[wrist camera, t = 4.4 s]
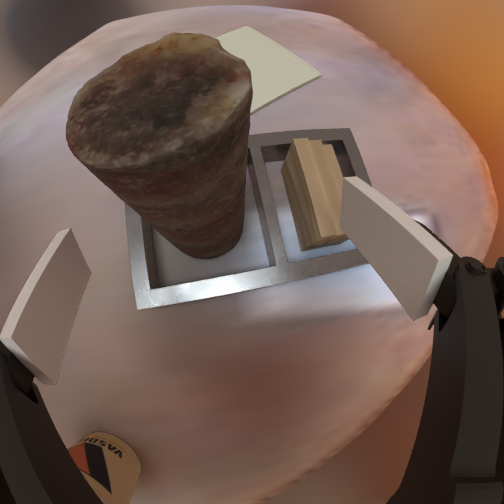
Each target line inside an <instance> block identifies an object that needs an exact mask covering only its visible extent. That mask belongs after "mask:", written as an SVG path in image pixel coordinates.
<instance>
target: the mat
mask: <svg viewBox="0 0 504 504" xmlns="http://www.w3.org/2000/svg"><path fill="white" fill-rule="evenodd" d="M216 39H218V40H219V42H220V44H221V46H222V48H223V49H225V50H226V51H228V52H229V53H231V54H233V55H234V56H236V57H238V58H241V59H243V60H244V61H245V62H246V65H247V66H248V68H249V69H250V71H251V78H252V88H253V98H252V104H251V111H250V115H252V114H253V113H255V112H257V111H258V110H260V109H262V108H263V107H265V106H267V105H269V104H270V103H272V102H274V101H276V100H277V99H279V98H281V97H283V96H285V95H286V94H288V93H290V92H292V91H294V90H296V89H298V88H300V87H302V86H303V85H305V84H307V83H309V82H311V81H313V80H315V79H317V78H320V77H321V75H322V74H321V73H320V72H318V71H317V70H316V69H314V68H313V67H311V66H310V65H309V64H307V63H306V62H305V61H303V60H302V59H300V58H299V57H297V56H296V55H294V54H293V53H291V52H290V51H288V50H287V49H285V48H284V47H282V46H281V45H279V44H277V43H276V42H274V41H273V40H271V39H269V38H268V37H266V36H264V35H263V34H261V33H259V32H257V31H256V30H254V29H252V28H250V27H248V26H245V27H242V28H239V29H237V30H234V31H231V32H229V33H226V34H224V35H221V36H219V37H216Z"/></svg>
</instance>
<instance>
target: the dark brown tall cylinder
mask: <svg viewBox="0 0 504 504" xmlns="http://www.w3.org/2000/svg"><path fill="white" fill-rule="evenodd" d="M252 98H253V88H252V78H251V71H250V69H249V68H248V66H247V65H246V62H245V61H244V60H243V59H241V58H238V57H236V56H234V55H233V54H231V53H229V52H228V51H226V50H225V49H223V48H222V46H221V44H220V42H219V40H218V39H216V38H212V37H210V36H206V35H203V34H193V33H185V34H182V33H171V34H168V35H166V36H164V37H163V38H162V39H160V40H159V41H157V42H155V43H152V44H147V45H145V46H143V47H140V48H138V49H136V50H134V51H132V52H130V53H128V54H126V55H124V56H122V57H121V58H120V59H119V60H118V61H117V62H116V63H115V64H113V65H112V66H110V67H108V68H106V69H104V70H103V71H102V72H100V73H99V74H98V75H97V76H95V77H94V78H92V79H90V80H89V81H87V82H86V83H85V85H84V86H83V87H82V88H81V89H80V90H79V91H78V92H77V94H76V96H75V97H74V100H73V102H72V105H71V107H70V110H69V114H68V122H67V124H66V140H67V143H68V146H69V148H70V150H71V151H72V153H73V155H74V156H75V157H76V158H77V159H78V160H79V161H80V162H81V163H82V164H84V165H85V166H86V167H87V168H88V169H89V170H90V171H91V172H92V173H93V174H94V175H95V176H96V177H97V178H98V179H99V180H100V181H102V182H103V183H104V184H105V185H106V186H107V187H108V188H110V189H111V190H112V191H113V192H114V193H115V194H116V195H117V196H118V197H119V198H120V199H121V200H123V201H124V202H125V203H126V204H127V205H129V206H130V207H131V208H132V209H133V210H134V211H135V212H137V213H138V214H139V215H140V216H141V217H142V218H143V219H144V220H146V221H147V222H148V223H149V224H150V225H151V226H152V227H154V228H155V229H156V230H157V231H158V232H159V233H160V234H161V235H162V236H164V237H165V238H166V239H167V240H168V241H169V242H170V243H172V244H173V245H174V246H175V247H177V248H178V249H179V250H180V251H182V252H184V253H185V254H187V255H189V256H191V257H195V258H202V259H211V258H215V257H218V256H220V255H223V254H225V253H226V252H228V251H230V250H231V249H232V248H233V247H234V246H235V245H236V244H237V242H238V240H239V239H240V236H241V234H242V229H243V221H244V198H245V182H246V167H247V156H248V136H249V129H250V111H251V104H252Z"/></svg>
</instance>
